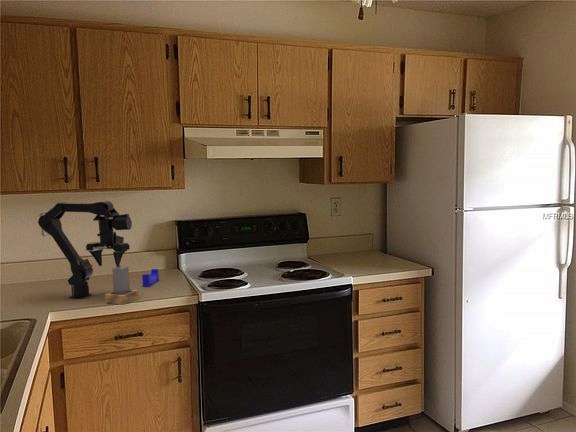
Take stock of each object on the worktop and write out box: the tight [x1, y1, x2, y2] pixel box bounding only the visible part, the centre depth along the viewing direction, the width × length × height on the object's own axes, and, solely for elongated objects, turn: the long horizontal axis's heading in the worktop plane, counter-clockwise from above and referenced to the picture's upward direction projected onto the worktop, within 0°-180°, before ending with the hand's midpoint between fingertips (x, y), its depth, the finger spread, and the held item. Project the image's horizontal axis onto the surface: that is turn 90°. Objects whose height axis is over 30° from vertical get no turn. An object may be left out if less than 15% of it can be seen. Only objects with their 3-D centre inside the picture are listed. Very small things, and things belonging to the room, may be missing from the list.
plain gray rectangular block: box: [111, 265, 131, 295], centre depth 199 cm, size 4×4×13 cm
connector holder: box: [104, 288, 140, 305], centre depth 199 cm, size 10×10×4 cm
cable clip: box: [141, 268, 160, 288], centre depth 226 cm, size 12×4×6 cm, turn 174°
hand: (109, 266), depth 205 cm, fingers open, 9 cm apart
